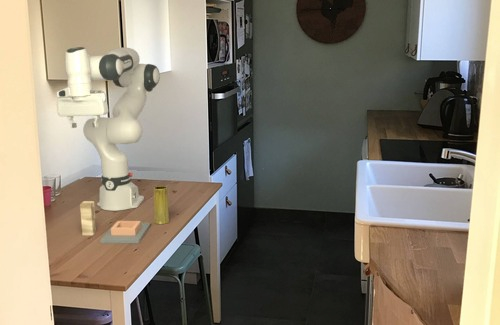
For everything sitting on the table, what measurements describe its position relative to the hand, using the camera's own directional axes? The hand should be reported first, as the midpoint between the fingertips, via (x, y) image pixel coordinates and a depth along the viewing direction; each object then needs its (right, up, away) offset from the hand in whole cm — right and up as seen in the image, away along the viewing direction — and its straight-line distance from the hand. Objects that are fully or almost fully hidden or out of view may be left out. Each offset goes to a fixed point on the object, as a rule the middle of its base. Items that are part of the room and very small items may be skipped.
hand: (84, 127), depth 213 cm
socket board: (+17, -40, -3) cm, 44 cm away
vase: (+28, -37, +10) cm, 48 cm away
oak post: (+3, -40, -2) cm, 40 cm away
